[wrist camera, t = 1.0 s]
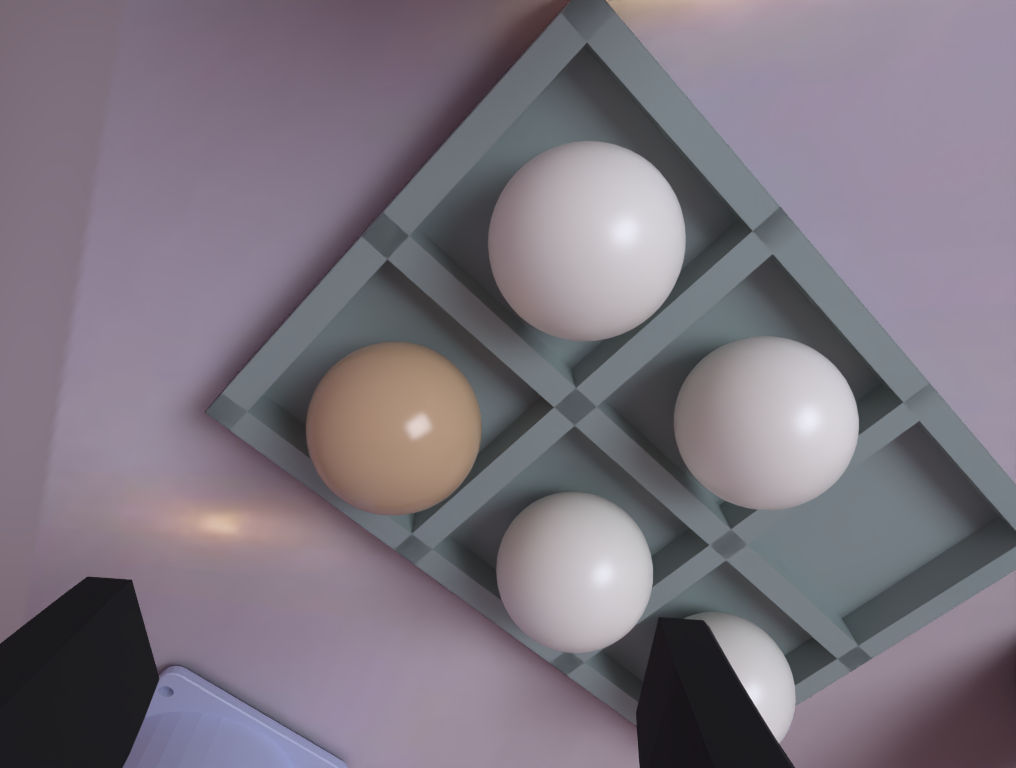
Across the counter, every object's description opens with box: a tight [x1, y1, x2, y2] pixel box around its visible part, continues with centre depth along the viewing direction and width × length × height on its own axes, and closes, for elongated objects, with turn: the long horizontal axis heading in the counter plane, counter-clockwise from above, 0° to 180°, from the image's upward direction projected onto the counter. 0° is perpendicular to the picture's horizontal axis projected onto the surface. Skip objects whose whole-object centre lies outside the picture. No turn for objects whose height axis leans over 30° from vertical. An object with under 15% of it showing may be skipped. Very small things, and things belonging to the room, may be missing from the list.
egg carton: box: [205, 0, 1016, 744], centre depth 19 cm, size 14×21×5 cm
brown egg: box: [306, 341, 482, 516], centre depth 18 cm, size 4×4×4 cm
